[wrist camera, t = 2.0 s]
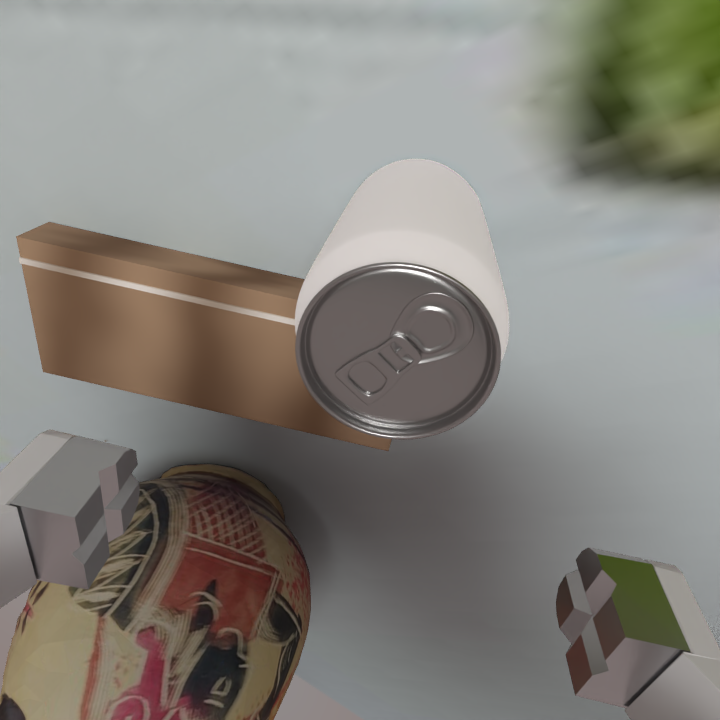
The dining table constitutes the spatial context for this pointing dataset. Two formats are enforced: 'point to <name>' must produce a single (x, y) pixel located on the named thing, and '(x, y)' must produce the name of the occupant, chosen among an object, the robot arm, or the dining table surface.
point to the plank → (171, 327)
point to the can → (404, 306)
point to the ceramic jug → (171, 613)
